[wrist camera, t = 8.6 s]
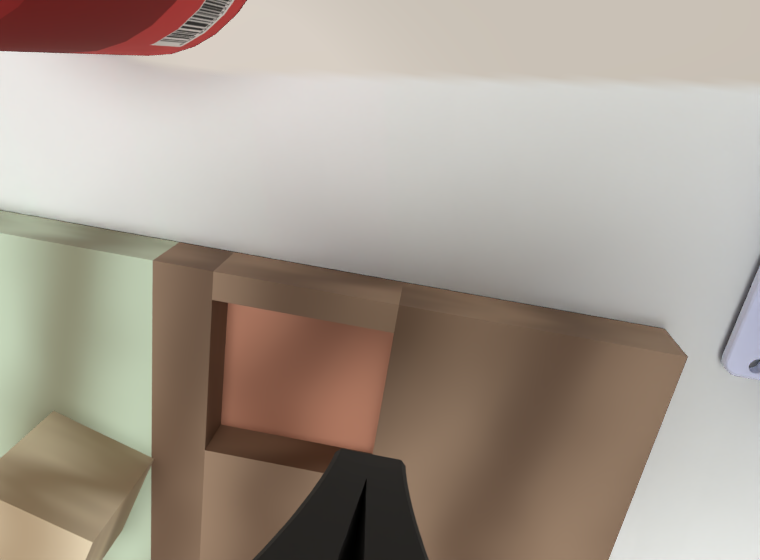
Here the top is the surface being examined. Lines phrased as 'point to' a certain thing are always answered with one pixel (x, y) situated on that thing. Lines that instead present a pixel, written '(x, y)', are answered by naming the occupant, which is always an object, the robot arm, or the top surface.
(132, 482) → the maple block
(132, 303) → the trap deck
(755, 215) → the top surface
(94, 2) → the canned food
